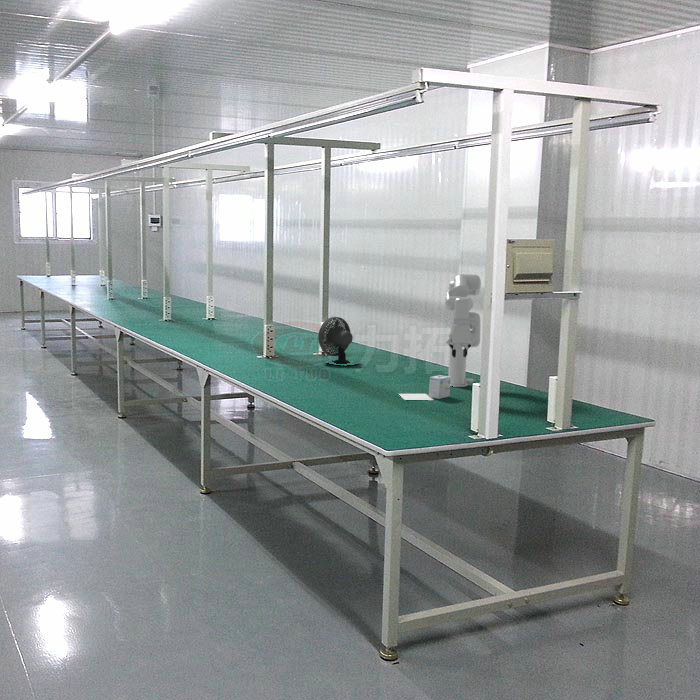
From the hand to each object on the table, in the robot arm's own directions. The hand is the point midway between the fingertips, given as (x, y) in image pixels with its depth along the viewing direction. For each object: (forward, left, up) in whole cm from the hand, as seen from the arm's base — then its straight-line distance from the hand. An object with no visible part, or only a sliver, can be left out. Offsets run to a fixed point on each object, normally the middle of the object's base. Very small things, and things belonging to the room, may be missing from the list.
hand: (459, 356), depth 394 cm
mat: (+23, 0, -21) cm, 31 cm away
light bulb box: (+10, 0, -21) cm, 24 cm away
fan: (+46, -111, -22) cm, 122 cm away
